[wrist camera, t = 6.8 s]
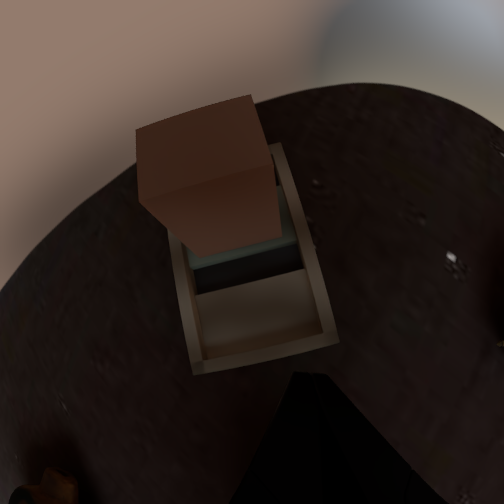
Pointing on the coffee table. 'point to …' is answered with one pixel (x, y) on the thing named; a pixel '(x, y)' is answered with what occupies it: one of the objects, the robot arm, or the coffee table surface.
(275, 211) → the terracotta block
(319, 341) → the box
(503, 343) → the game die
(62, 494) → the decorative turtle
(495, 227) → the coffee table surface
